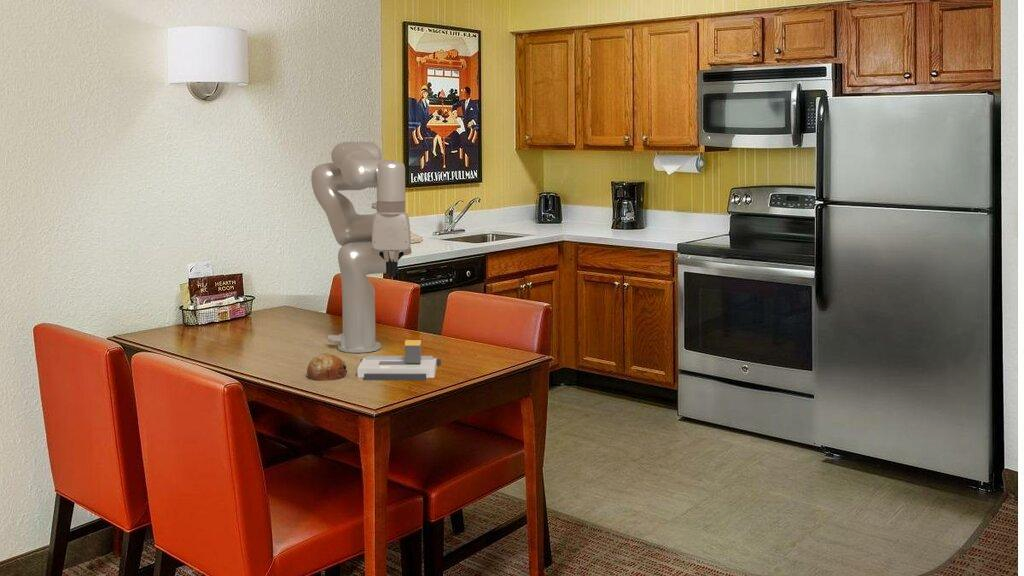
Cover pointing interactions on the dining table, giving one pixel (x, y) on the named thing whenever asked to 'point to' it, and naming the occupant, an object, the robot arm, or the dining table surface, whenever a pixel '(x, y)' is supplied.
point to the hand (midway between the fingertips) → (391, 275)
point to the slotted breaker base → (397, 366)
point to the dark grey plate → (397, 375)
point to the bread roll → (326, 368)
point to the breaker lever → (412, 351)
